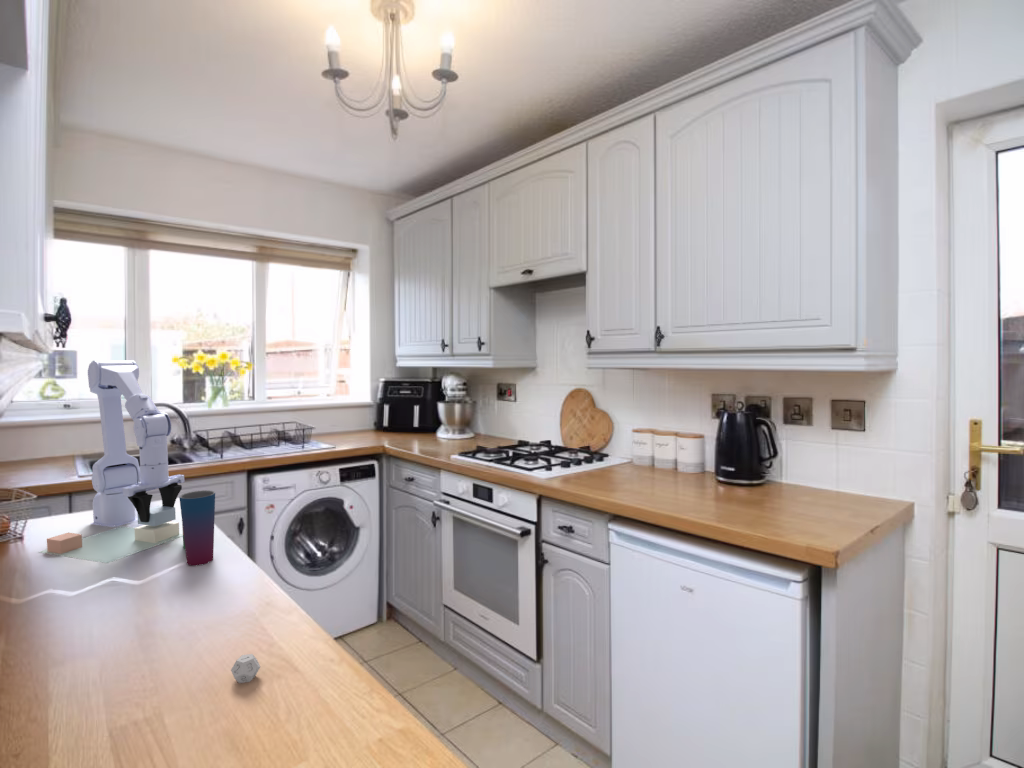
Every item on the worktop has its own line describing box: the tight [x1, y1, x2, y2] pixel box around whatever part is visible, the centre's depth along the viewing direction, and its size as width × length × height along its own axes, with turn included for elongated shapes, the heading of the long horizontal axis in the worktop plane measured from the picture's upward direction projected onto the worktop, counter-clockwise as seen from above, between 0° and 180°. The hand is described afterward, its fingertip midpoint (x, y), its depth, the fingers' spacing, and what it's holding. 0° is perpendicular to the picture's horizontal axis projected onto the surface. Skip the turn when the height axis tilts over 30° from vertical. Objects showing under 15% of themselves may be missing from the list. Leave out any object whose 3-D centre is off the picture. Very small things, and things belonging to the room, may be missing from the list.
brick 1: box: [46, 532, 83, 554], centre depth 124 cm, size 4×4×3 cm
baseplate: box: [39, 525, 183, 564], centre depth 128 cm, size 22×19×1 cm
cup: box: [178, 489, 216, 567], centre depth 118 cm, size 7×7×15 cm
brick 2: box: [137, 505, 176, 526], centre depth 132 cm, size 6×6×3 cm
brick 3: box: [133, 521, 180, 543], centre depth 132 cm, size 6×6×3 cm
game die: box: [230, 653, 261, 684], centre depth 75 cm, size 4×4×3 cm
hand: (156, 518), depth 132 cm, fingers closed on brick 2, 5 cm apart
